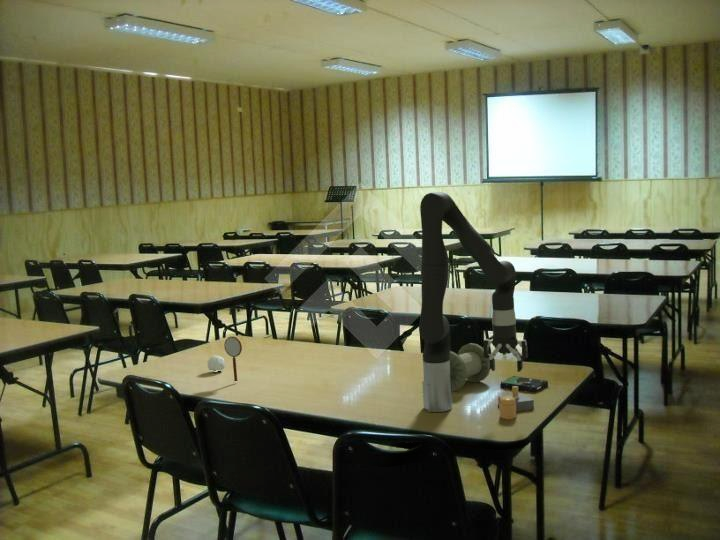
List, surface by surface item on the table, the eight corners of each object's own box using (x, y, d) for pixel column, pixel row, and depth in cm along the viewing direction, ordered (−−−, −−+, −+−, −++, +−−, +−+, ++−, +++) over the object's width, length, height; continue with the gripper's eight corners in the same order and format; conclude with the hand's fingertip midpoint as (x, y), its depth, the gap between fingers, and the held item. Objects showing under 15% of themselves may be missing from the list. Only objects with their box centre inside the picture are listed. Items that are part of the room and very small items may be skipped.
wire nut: (504, 419, 244) (503, 402, 243) (497, 415, 249) (497, 398, 248) (518, 417, 245) (517, 400, 244) (511, 413, 250) (511, 396, 249)
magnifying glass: (245, 383, 311) (241, 336, 308) (243, 384, 309) (239, 337, 307) (229, 382, 315) (225, 335, 313) (226, 383, 313) (222, 336, 311)
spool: (460, 378, 299) (458, 341, 297) (491, 383, 288) (489, 345, 286) (433, 387, 287) (431, 349, 286) (465, 393, 277) (463, 354, 275)
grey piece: (509, 411, 252) (508, 391, 251) (498, 404, 261) (497, 385, 260) (533, 408, 254) (533, 388, 253) (522, 401, 263) (521, 382, 262)
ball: (220, 378, 333) (223, 366, 328) (203, 373, 333) (205, 361, 328) (226, 366, 339) (228, 354, 334) (209, 361, 339) (211, 349, 334)
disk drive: (548, 387, 280) (513, 382, 289) (548, 380, 279) (513, 375, 289) (535, 394, 272) (499, 388, 281) (535, 387, 271) (499, 381, 281)
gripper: (479, 324, 243) (482, 373, 245) (523, 325, 237) (525, 374, 239) (485, 320, 250) (488, 367, 252) (528, 320, 244) (530, 368, 246)
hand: (506, 370), depth 245 cm, fingers open, 8 cm apart
